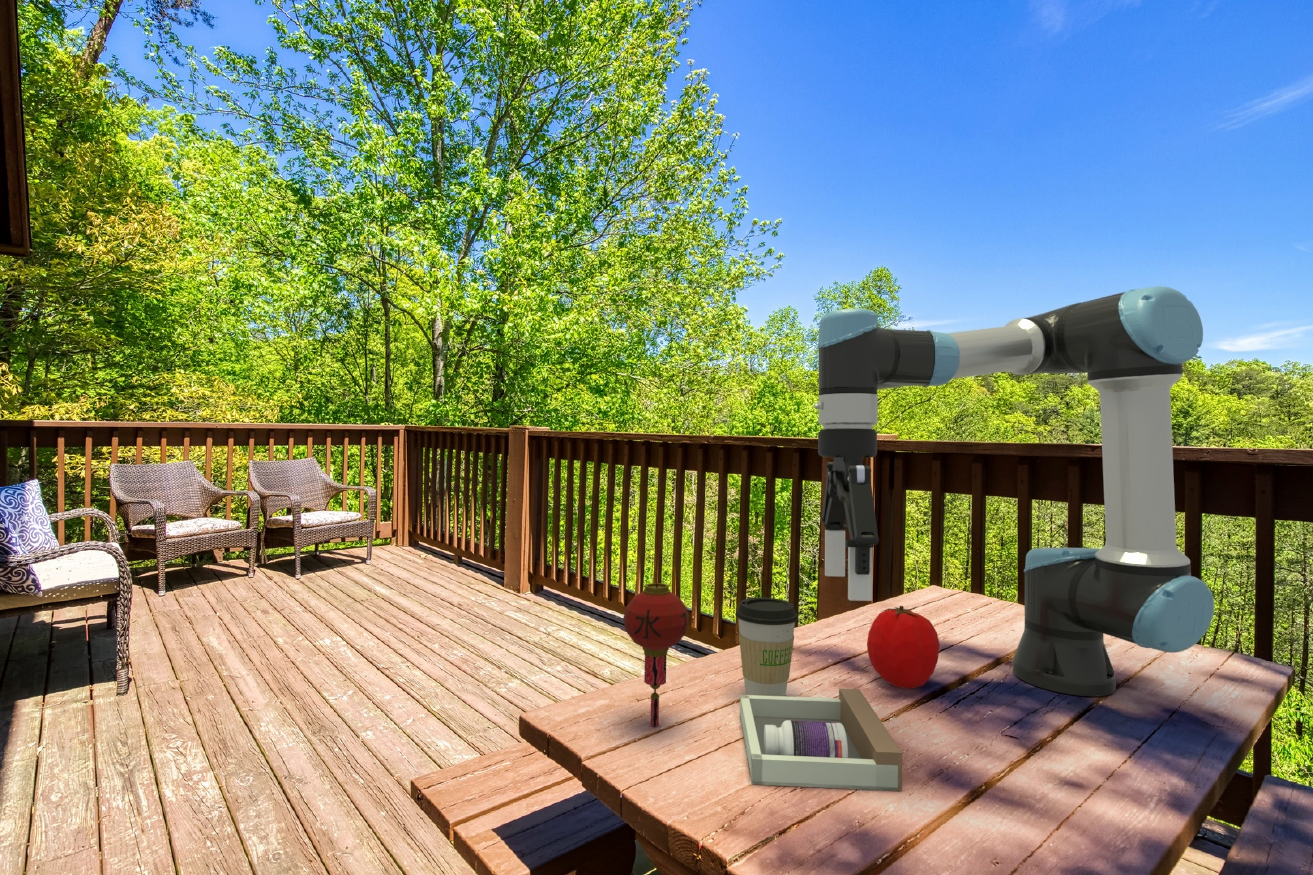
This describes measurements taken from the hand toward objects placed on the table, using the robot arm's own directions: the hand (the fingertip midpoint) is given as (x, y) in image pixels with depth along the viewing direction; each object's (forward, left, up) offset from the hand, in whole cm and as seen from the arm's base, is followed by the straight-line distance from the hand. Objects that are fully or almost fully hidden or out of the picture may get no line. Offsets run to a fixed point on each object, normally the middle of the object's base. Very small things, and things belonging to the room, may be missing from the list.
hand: (846, 587), depth 84 cm
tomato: (-15, -24, -22) cm, 36 cm away
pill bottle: (+1, +6, -19) cm, 19 cm away
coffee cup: (+9, -16, -22) cm, 28 cm away
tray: (+5, 0, -22) cm, 22 cm away
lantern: (+26, -5, -22) cm, 34 cm away
